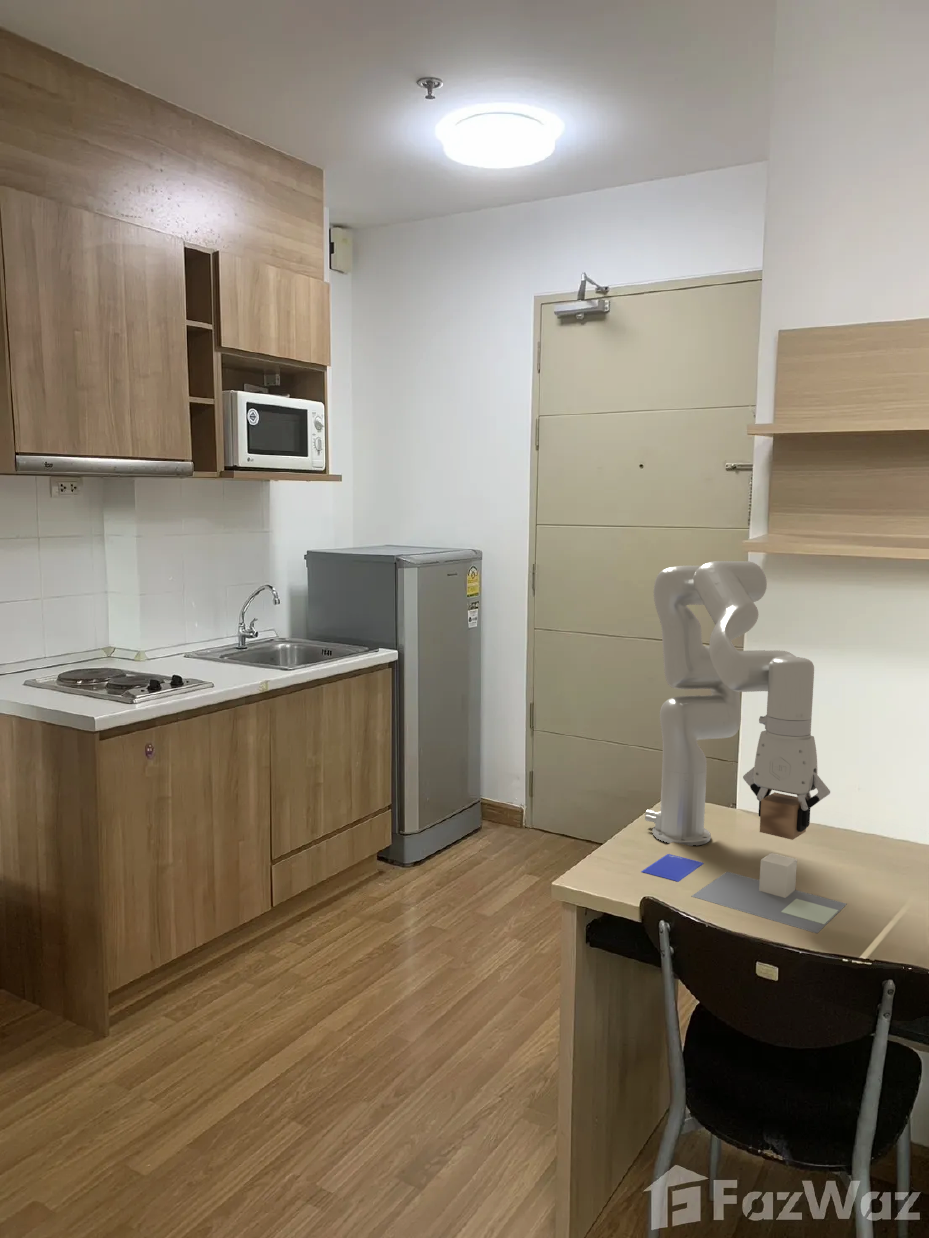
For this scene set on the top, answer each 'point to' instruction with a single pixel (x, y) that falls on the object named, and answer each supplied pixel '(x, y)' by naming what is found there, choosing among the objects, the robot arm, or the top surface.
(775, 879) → the cream block
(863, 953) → the top surface
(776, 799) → the walnut block
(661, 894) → the top surface
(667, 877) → the blue square mat
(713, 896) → the board
